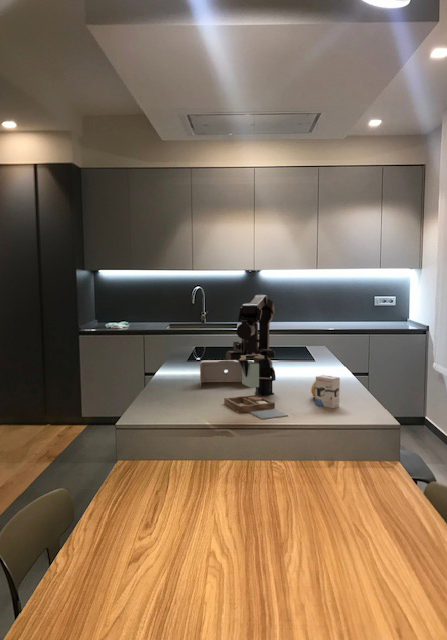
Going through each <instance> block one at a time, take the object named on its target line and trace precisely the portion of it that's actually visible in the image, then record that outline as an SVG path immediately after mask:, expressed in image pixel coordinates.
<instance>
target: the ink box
mask: <svg viewBox="0 0 447 640" xmlns="http://www.w3.org/2000/svg"><path fill="white" fill-rule="evenodd" d="M340 379H341V378H340V377H339V376H333V375H325V374H322V375H318V376H315V381H316V389H315V397H314V398H315V399H314V400H315V401H314V404H315V406H321V407H325V408H329V409H335V408H338V407H339V406H340V388H341V387H340V383H341V382H340V381H341V380H340Z"/></svg>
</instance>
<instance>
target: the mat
mask: <svg viewBox="0 0 447 640" xmlns="http://www.w3.org/2000/svg"><path fill="white" fill-rule="evenodd" d="M248 413H249V414H251V415H252V416H255V417H256V418H258V419H260V420H269V419H275V418H277V419H278V418H284V417H289V414H286V413H284V412H283V411H280V410H279V409H276V408H275V409H274V408H273V409H264V410H256V411H249V412H248Z"/></svg>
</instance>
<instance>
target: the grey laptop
mask: <svg viewBox="0 0 447 640" xmlns="http://www.w3.org/2000/svg"><path fill="white" fill-rule="evenodd" d="M247 360H248V361H252V360H250V359H247ZM226 370H227V372H225V371H226ZM199 373H200V374H199V375H200V376H199V384H200V385H199V387H200V388H201V387H202V383H229V382H230V383H242V366H241V364H240V362H239V361H237V360H230V359H223V360H222V359H219V360H218V359H216V360H214V359H212V360H211V359H207V360H206V359H205V360H201V361H200V364H199Z"/></svg>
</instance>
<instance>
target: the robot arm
mask: <svg viewBox="0 0 447 640" xmlns="http://www.w3.org/2000/svg"><path fill="white" fill-rule="evenodd" d="M275 311H276V308H275V304H274V301H272V300H271V299H270V298H268V295H267V294H256V295H254V298H253V299H252V300H251V301H250V302H246V303H242V305H241V307H240V308H239V313H238V320H237V322H238V323H240V324H238V326H237V328H236V335H237V337H239V339H241V342H239V341H234V342H232V343H233V344H232V346H233V350H227V351H226V353H225V359H226V360H237V361H239V362H240V364H241V366H242V369H243V372H244V375H245V377H247V374H248V360H249V359H247V358H252V357H253V358H252V359H253V362H255V363H258V364H259V387H255V391H254V393H255V394H256V395H259V396H261V397H263V396H270V395H271V396H272V395H275V392H273V382H274V381H276V370H275V369H274V367H273V362H272V360H271V359H274V358H276V351H275V350H274V349H271V348H270V325H271V324H270V323H271V322H272V320H273V319H274V315H275V313H276V312H275Z"/></svg>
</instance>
